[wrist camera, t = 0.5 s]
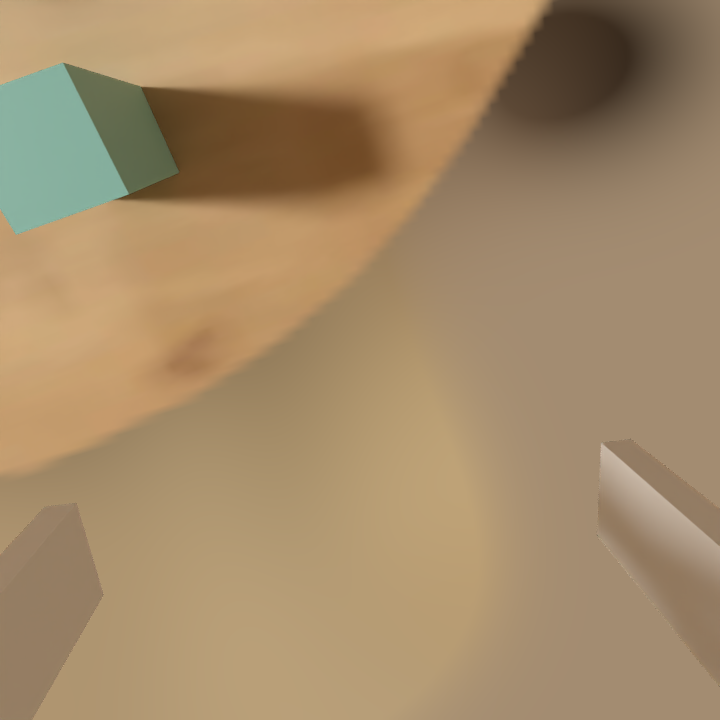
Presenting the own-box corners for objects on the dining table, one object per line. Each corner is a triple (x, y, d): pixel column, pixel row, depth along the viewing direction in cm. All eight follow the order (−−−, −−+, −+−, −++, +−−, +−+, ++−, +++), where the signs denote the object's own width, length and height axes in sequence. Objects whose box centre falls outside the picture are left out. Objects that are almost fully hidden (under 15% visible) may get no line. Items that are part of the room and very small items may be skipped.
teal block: (60, 115, 30) (-63, 107, 19) (140, 86, 30) (62, 62, 19) (104, 199, 32) (16, 234, 22) (179, 172, 32) (128, 194, 22)
